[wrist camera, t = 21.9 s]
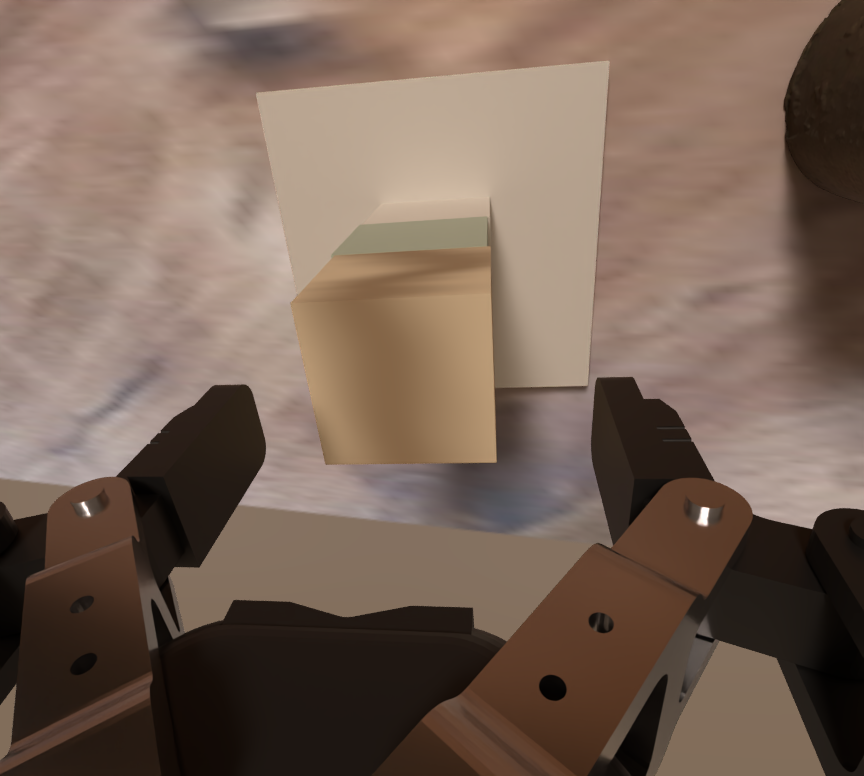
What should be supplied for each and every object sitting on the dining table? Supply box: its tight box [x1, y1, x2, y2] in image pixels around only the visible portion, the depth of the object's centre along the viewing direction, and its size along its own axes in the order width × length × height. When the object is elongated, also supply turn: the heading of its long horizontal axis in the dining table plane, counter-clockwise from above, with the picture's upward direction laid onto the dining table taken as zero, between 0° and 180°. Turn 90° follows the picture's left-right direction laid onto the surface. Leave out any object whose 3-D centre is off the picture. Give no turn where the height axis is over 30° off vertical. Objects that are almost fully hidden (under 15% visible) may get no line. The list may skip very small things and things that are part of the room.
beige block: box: [362, 197, 492, 273], centre depth 26 cm, size 5×5×5 cm
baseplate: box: [256, 61, 610, 388], centre depth 29 cm, size 16×16×1 cm
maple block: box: [290, 246, 497, 465], centre depth 18 cm, size 5×5×5 cm
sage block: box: [331, 216, 488, 259], centre depth 22 cm, size 5×5×5 cm
